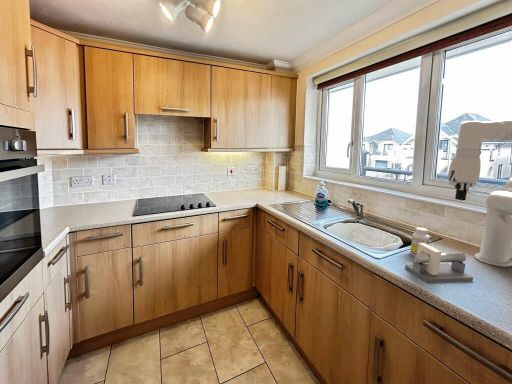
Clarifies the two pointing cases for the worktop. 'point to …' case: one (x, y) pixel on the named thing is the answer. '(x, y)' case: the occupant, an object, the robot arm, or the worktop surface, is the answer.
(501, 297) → the worktop surface
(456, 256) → the pipe
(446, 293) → the worktop surface
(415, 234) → the supplement bottle
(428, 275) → the base board
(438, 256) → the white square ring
